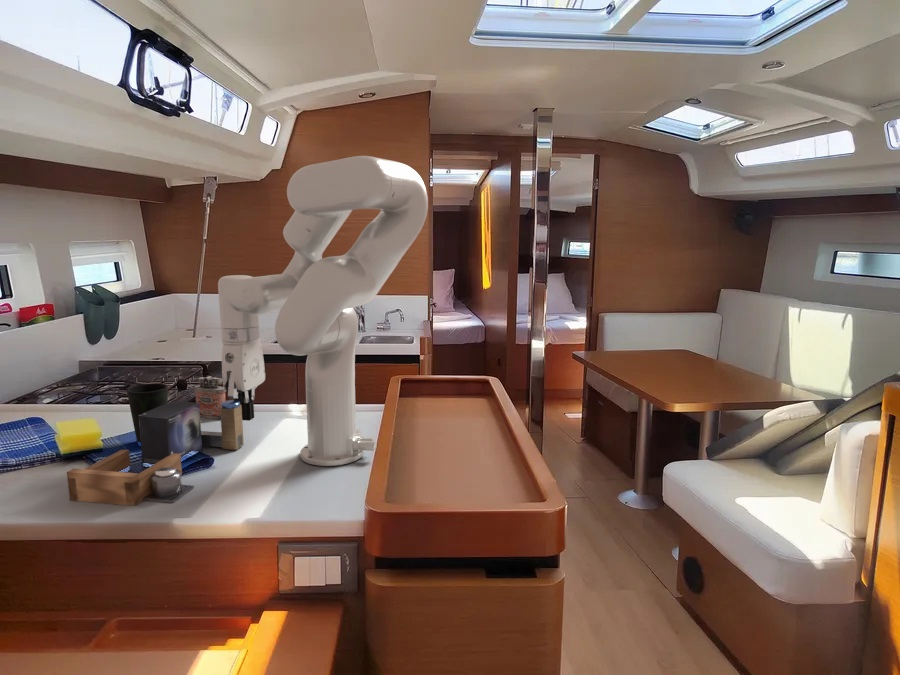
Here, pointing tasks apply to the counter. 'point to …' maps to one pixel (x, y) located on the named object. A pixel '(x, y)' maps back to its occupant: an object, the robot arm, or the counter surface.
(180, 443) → the small box
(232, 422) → the container
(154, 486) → the drum
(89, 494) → the bay
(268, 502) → the counter surface
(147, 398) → the cup
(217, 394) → the lighter
